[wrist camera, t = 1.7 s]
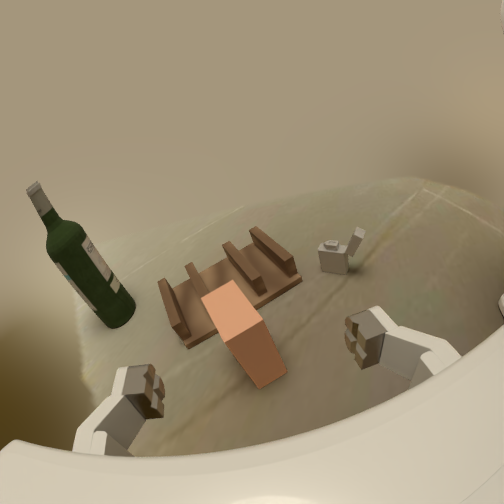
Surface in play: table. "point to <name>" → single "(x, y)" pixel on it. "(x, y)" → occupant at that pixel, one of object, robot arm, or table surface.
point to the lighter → (339, 253)
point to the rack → (231, 268)
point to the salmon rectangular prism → (244, 333)
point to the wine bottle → (82, 264)
